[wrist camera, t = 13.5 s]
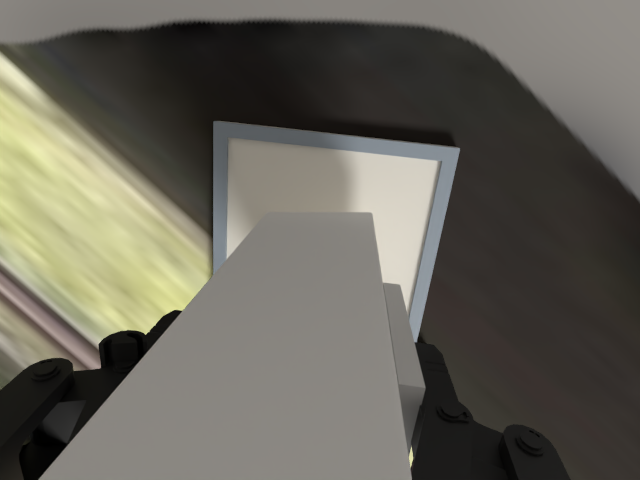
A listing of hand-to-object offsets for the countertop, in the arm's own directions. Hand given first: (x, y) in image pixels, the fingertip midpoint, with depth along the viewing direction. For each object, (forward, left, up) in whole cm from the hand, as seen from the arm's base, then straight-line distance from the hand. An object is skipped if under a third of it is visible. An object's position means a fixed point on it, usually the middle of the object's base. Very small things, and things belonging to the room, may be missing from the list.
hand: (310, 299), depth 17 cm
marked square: (0, 0, -7) cm, 7 cm away
